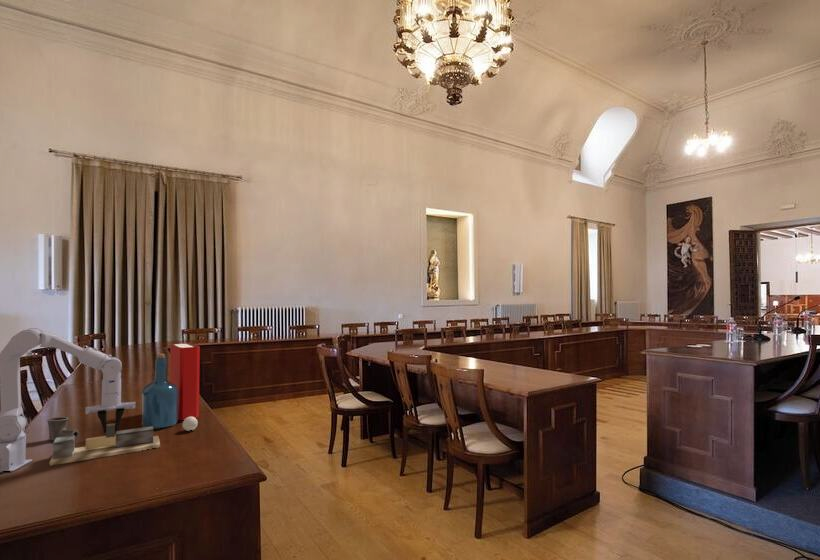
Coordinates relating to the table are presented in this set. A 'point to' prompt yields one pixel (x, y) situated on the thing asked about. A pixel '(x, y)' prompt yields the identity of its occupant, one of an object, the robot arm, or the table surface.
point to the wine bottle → (160, 399)
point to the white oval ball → (190, 423)
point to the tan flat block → (103, 439)
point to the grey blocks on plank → (124, 444)
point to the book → (186, 377)
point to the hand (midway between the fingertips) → (110, 431)
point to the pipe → (60, 428)
